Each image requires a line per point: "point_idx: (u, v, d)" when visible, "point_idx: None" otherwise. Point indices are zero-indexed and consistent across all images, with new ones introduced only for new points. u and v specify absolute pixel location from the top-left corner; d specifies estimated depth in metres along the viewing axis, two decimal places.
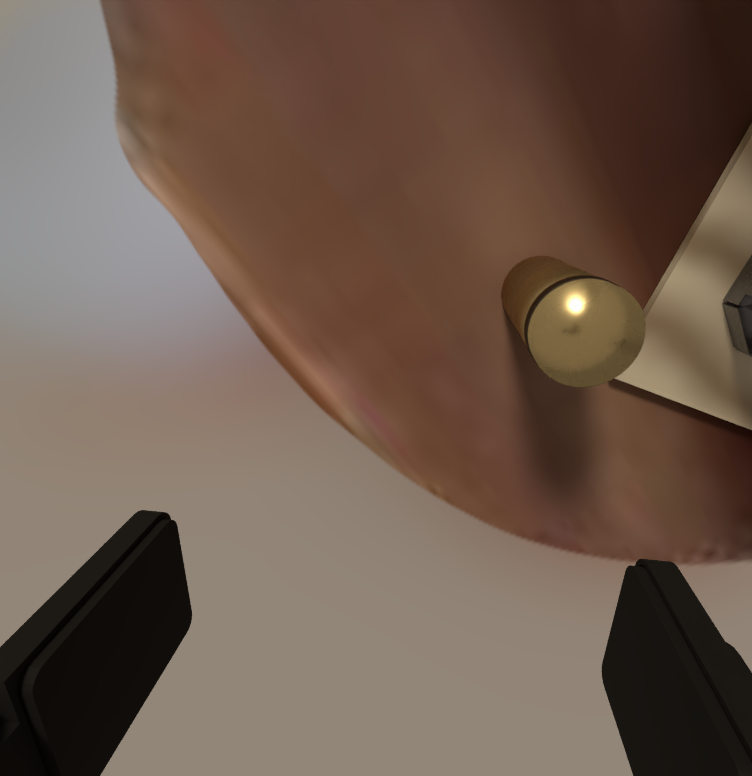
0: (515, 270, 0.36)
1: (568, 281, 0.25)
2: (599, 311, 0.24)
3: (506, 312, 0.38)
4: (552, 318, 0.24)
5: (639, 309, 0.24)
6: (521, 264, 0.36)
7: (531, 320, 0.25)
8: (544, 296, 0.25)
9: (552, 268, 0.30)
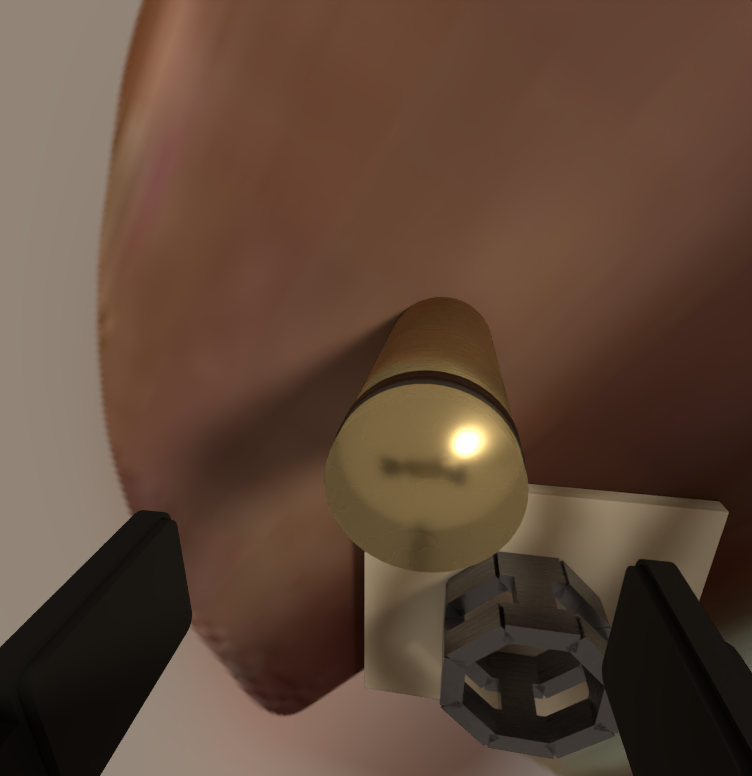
0: (463, 307, 0.23)
1: (506, 420, 0.13)
2: (472, 494, 0.13)
3: (399, 318, 0.25)
4: (435, 426, 0.12)
5: (495, 549, 0.13)
6: (473, 312, 0.24)
7: (415, 386, 0.13)
8: (467, 391, 0.13)
9: (496, 367, 0.18)
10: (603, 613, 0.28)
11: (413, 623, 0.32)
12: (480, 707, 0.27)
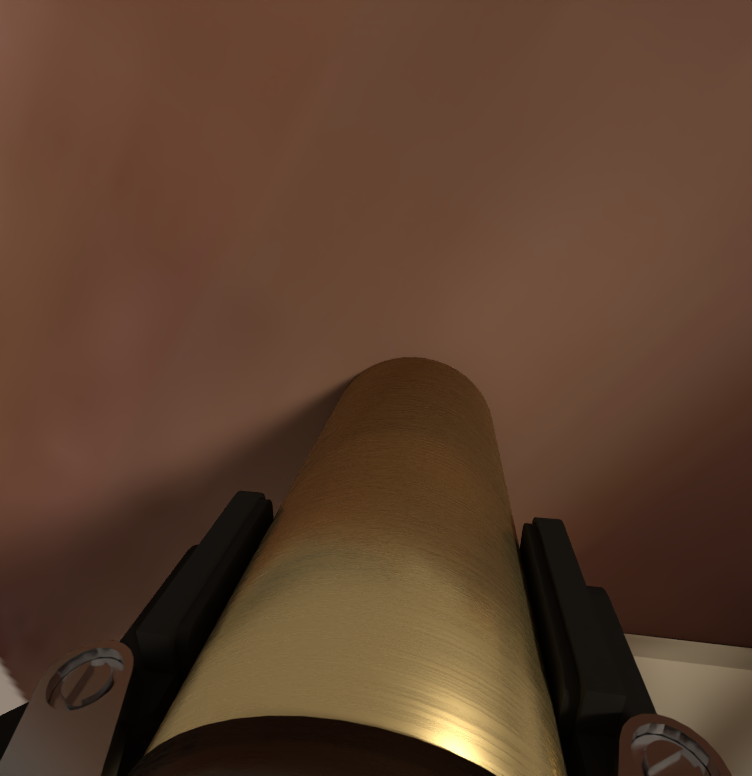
0: (446, 380, 0.14)
1: None
2: None
3: (345, 392, 0.16)
4: None
5: None
6: (463, 386, 0.15)
7: None
8: None
9: (510, 546, 0.09)
10: None
11: None
12: None
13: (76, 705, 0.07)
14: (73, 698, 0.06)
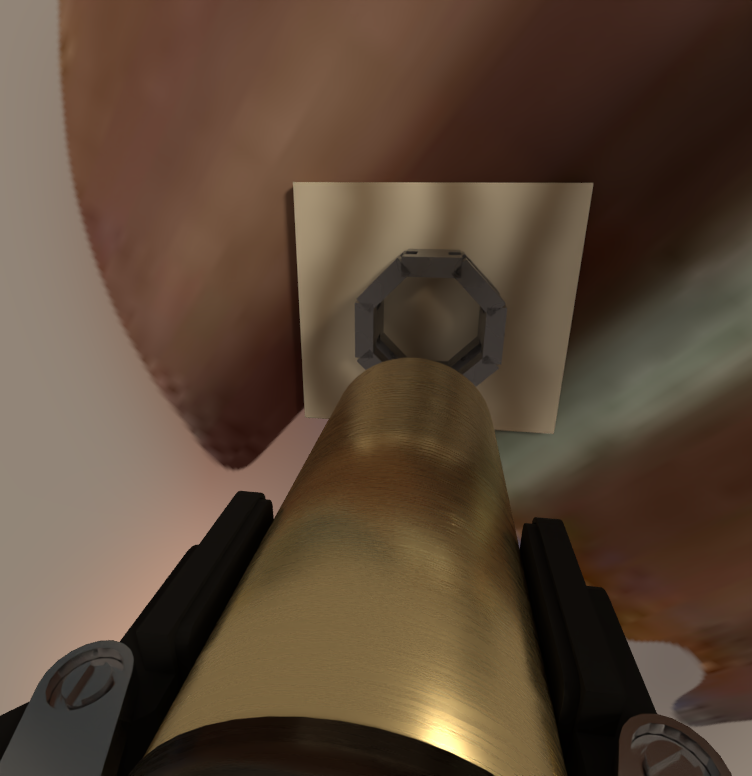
0: (446, 381, 0.14)
1: None
2: None
3: (345, 392, 0.16)
4: None
5: None
6: (463, 387, 0.15)
7: None
8: None
9: (509, 546, 0.09)
10: (496, 289, 0.32)
11: (343, 338, 0.37)
12: None
13: (75, 705, 0.07)
14: (73, 698, 0.06)
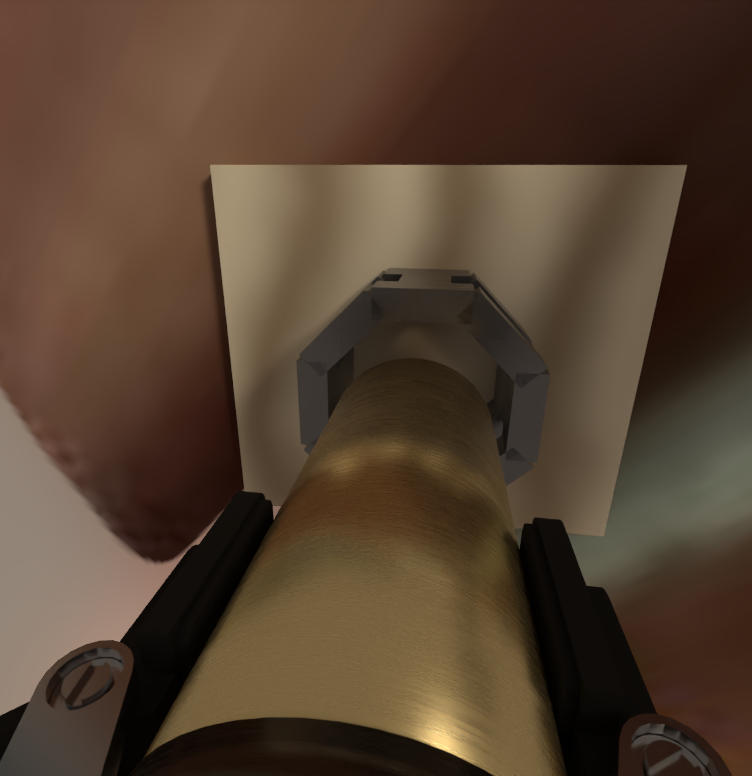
0: (446, 381, 0.14)
1: None
2: None
3: (345, 393, 0.16)
4: None
5: None
6: (463, 387, 0.15)
7: None
8: None
9: (509, 547, 0.09)
10: (525, 332, 0.21)
11: (295, 396, 0.25)
12: None
13: (76, 705, 0.07)
14: (73, 698, 0.06)
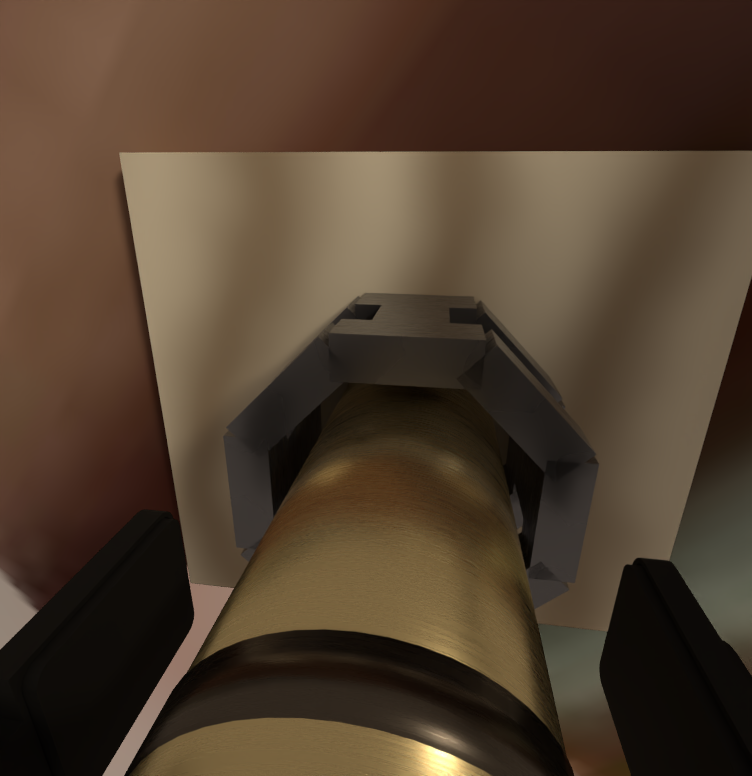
0: None
1: None
2: None
3: None
4: None
5: None
6: None
7: (294, 744, 0.04)
8: (445, 749, 0.04)
9: (505, 513, 0.10)
10: (552, 384, 0.15)
11: None
12: None
13: None
14: None
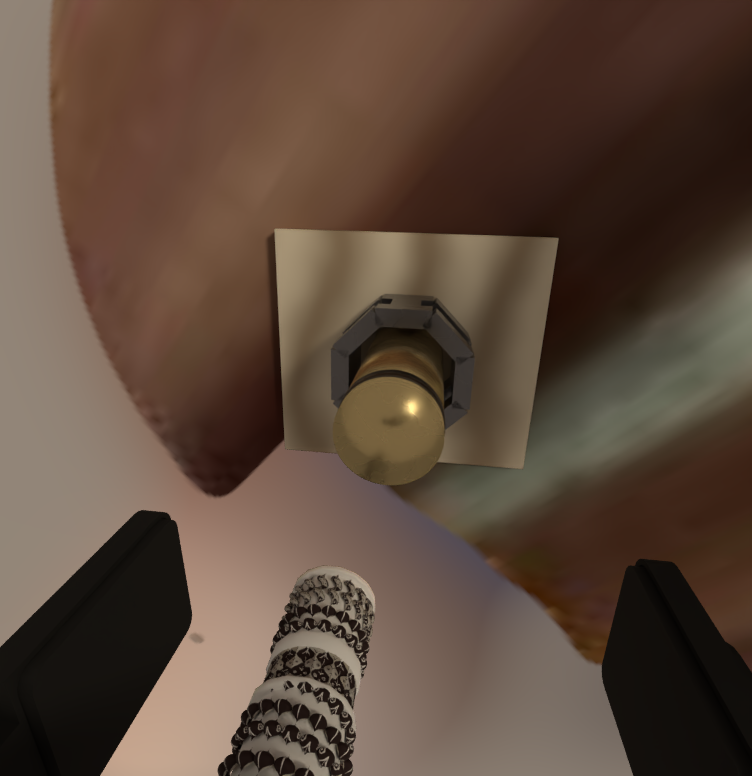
0: None
1: (433, 397, 0.24)
2: (414, 437, 0.23)
3: (377, 335, 0.35)
4: (393, 399, 0.23)
5: (428, 469, 0.24)
6: None
7: (383, 378, 0.23)
8: (411, 381, 0.24)
9: (437, 368, 0.29)
10: (467, 334, 0.34)
11: (322, 375, 0.38)
12: None
13: None
14: None
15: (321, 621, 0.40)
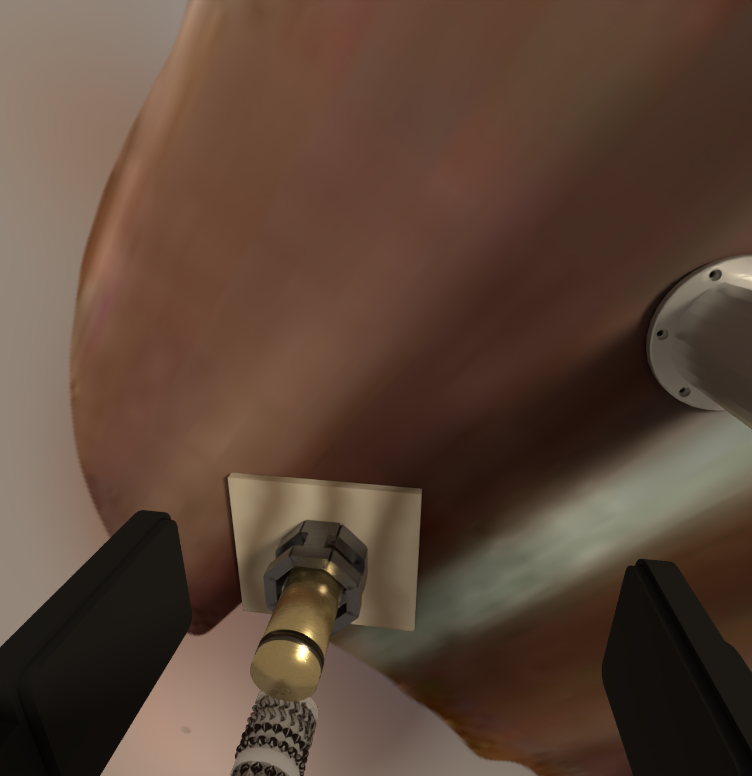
0: (330, 548, 0.49)
1: (312, 652, 0.38)
2: (299, 678, 0.38)
3: None
4: (284, 658, 0.37)
5: (309, 695, 0.38)
6: (336, 549, 0.49)
7: (280, 642, 0.38)
8: (298, 643, 0.38)
9: (329, 603, 0.43)
10: (362, 553, 0.48)
11: (266, 566, 0.53)
12: None
13: None
14: None
15: (270, 739, 0.55)
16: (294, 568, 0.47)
